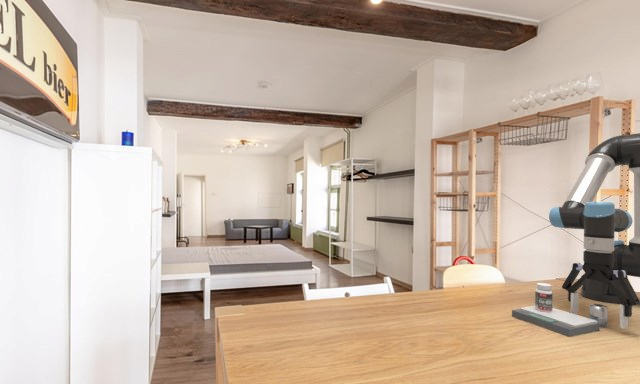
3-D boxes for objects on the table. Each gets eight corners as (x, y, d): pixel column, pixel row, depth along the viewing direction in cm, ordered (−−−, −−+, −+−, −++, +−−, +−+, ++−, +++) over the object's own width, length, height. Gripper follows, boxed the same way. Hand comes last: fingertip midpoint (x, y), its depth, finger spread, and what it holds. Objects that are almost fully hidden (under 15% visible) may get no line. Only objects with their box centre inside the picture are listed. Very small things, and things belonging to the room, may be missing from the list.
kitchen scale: (540, 311, 120) (540, 304, 120) (599, 330, 103) (599, 321, 103) (511, 316, 114) (512, 308, 114) (569, 336, 98) (569, 327, 98)
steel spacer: (594, 321, 111) (594, 302, 111) (610, 326, 107) (610, 306, 107) (586, 323, 109) (586, 304, 109) (601, 328, 105) (602, 308, 105)
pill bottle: (538, 311, 112) (538, 285, 112) (532, 307, 116) (532, 282, 116) (555, 313, 111) (555, 286, 111) (548, 308, 115) (548, 283, 115)
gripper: (550, 246, 119) (549, 308, 118) (641, 257, 96) (640, 335, 95) (564, 245, 121) (563, 306, 121) (656, 257, 99) (655, 332, 98)
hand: (597, 319), depth 108 cm, fingers open, 13 cm apart
